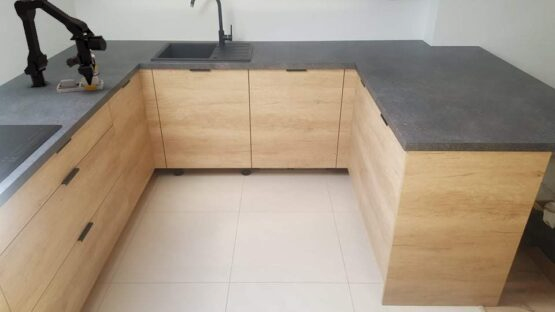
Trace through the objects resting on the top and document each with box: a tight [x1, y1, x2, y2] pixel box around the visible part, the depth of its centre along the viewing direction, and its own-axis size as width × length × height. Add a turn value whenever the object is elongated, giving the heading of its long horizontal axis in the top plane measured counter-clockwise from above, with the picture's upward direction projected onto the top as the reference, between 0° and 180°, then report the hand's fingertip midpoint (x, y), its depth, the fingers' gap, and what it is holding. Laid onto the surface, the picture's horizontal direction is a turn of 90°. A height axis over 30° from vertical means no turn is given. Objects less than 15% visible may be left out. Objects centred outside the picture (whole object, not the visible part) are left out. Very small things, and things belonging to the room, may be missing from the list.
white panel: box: [81, 75, 100, 86], centre depth 196 cm, size 2×7×5 cm, turn 108°
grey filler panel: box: [60, 78, 77, 87], centre depth 194 cm, size 2×6×4 cm, turn 108°
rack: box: [56, 79, 104, 94], centre depth 195 cm, size 8×20×2 cm, turn 108°
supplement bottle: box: [90, 49, 99, 76], centre depth 213 cm, size 7×7×13 cm
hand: (90, 82), depth 196 cm, fingers open, 9 cm apart
